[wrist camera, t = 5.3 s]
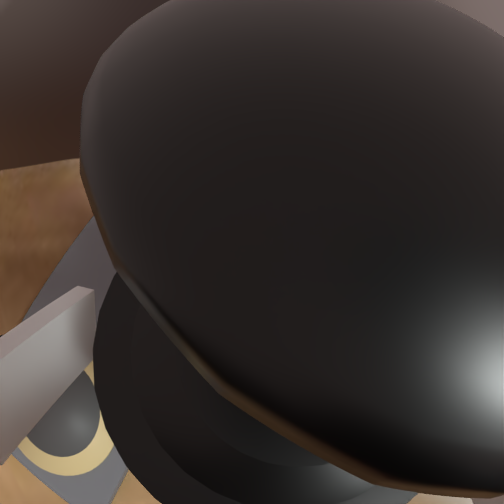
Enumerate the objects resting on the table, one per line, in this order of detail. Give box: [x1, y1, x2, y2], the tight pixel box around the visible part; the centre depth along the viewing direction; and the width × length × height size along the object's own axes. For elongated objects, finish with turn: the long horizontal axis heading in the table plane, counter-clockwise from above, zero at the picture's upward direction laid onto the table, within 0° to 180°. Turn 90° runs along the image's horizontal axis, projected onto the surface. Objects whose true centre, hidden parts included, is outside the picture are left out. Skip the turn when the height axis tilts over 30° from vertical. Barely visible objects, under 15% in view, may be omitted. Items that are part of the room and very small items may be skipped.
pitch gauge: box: [12, 216, 128, 504], centre depth 19 cm, size 14×28×9 cm, turn 156°
